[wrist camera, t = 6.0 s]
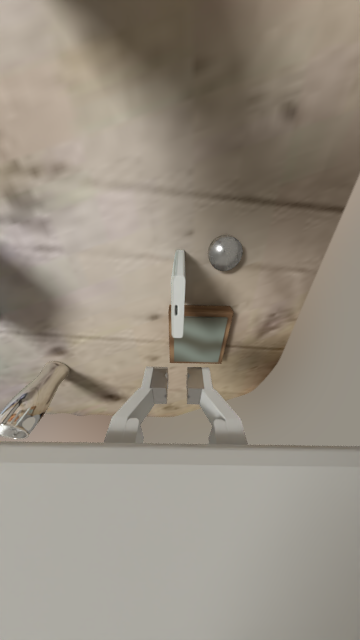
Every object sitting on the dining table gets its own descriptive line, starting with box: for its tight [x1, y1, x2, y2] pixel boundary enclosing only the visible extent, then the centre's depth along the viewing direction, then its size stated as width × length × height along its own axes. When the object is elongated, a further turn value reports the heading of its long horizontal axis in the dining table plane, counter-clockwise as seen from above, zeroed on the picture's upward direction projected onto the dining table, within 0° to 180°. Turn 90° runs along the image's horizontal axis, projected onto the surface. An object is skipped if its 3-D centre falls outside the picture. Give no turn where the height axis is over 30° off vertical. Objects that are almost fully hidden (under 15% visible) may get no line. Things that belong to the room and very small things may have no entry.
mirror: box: [169, 305, 233, 364], centre depth 35 cm, size 14×12×3 cm
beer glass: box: [0, 361, 70, 439], centre depth 37 cm, size 7×7×15 cm
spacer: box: [208, 235, 243, 271], centre depth 26 cm, size 5×5×2 cm
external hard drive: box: [171, 250, 186, 338], centre depth 24 cm, size 2×8×12 cm, turn 178°
